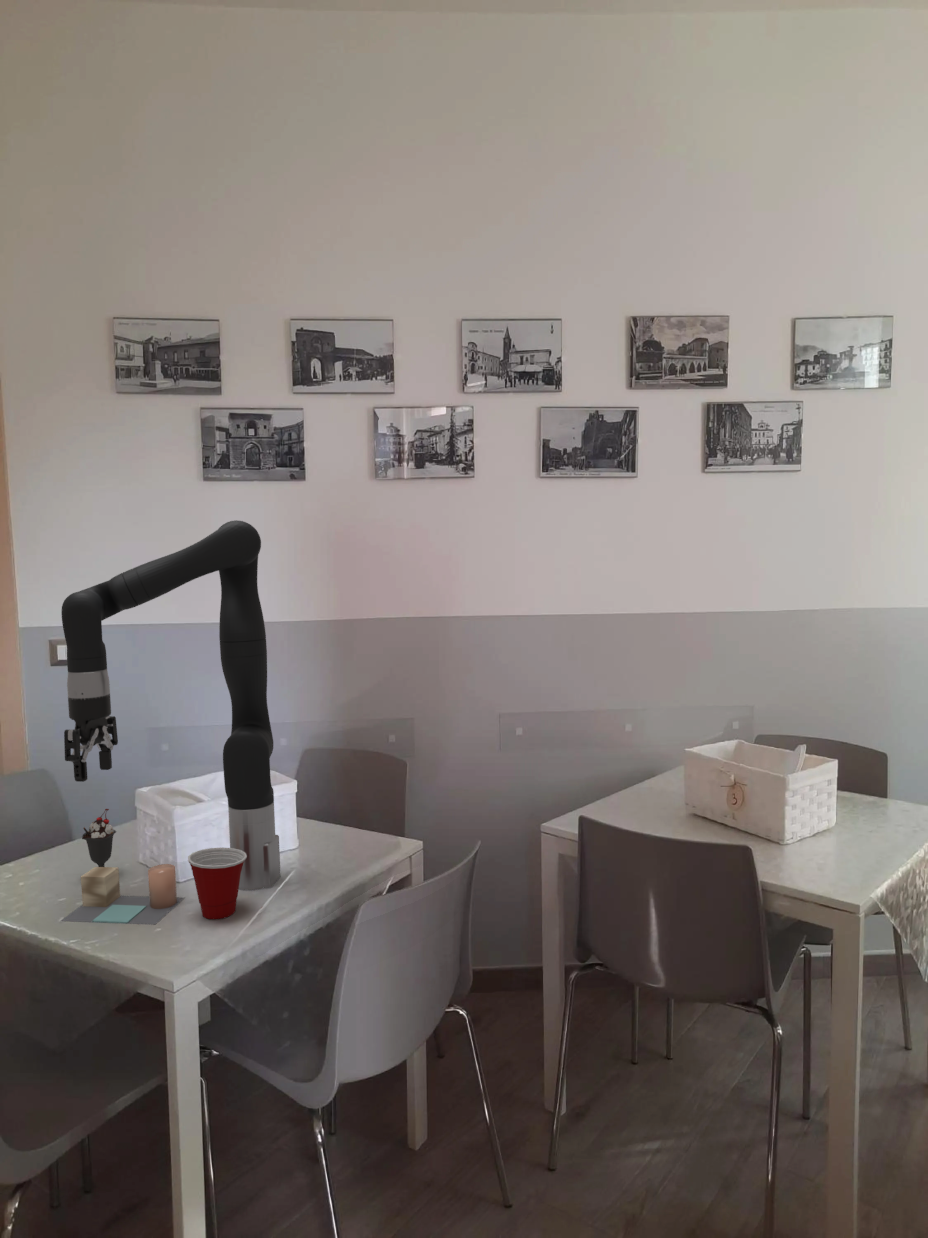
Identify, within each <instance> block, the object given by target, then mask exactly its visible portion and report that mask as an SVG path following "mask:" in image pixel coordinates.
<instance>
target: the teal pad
mask: <svg viewBox="0 0 928 1238" xmlns="http://www.w3.org/2000/svg"><path fill="white" fill-rule="evenodd" d="M145 908H146V906H136V905H112V906H110V907H109V908H108V909H107V910H105V911H104V912H103V913H101V914H100V915H99V916H98V917H96V918H95V919H94V920H92V922H91V923H96V922H102V923H101V924H122V923H129V922H130V921H131V920H132V919H133V918H135V917H136V916H137V915H138V914H139V913H140V912H142V911H143V910H144V909H145Z"/></svg>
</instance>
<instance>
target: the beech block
mask: <svg viewBox="0 0 928 1238" xmlns="http://www.w3.org/2000/svg"><path fill="white" fill-rule="evenodd" d="M119 870H120V869H119V867H117V866H116V867H113V866H112V867H111V866H104V867H98V866H95V867H93V868H91V869H90V870H89V871H87V872H85V873H83V874H82V875H81V876H80V885H81V901H82V902H81V903H82V904H81V905H83V906H90V907H107V906H109V905H110V904H111V903H112V902H114V901H115V900H116V899H118V898H119V897H120V895H121V889H120V887H121V886H120V871H119Z"/></svg>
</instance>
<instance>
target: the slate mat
mask: <svg viewBox="0 0 928 1238" xmlns="http://www.w3.org/2000/svg"><path fill="white" fill-rule="evenodd" d="M184 899H185V897H181V896H180V897H177V903H176V904H175V905H173V906H171V907H168V908H163V909H154V908H151V907H150V897H149V896H148V895H147V896H146V895H145V896H144V895H124V894H123V895H121V894H120V897H119V898H118V899H116V900H115V901H114V902H112V903H111V904H110V905H109V906H107V907H90V906H83V904H81V905H80V906H79V907H77V908H76V909H74V910H73V911H72V912H70V913H68V914H67V915H66V916H65V917H63V918H62V919H61V920H60V922H71V923H72V922H74V923H75V922H76V923H93V922H92V920H94V919H95V918H96V917H98V916H99V915H100V914H101V913H103V912H104V911H105V910H107V909H108V908H109V907H110V906H112V905H136V906H146V908H145V909H144V910H143V911H142V912H140V913H139V914H138V915H137V916H136V917H135V918H133V919H132V920H131V921H130V922H129V923H121V925H122V924H125V925H126V924H127V925H147V926H149V925H151V926H152V925H153V926H155V925H157V924H158V923H159V922H160V921H161V920H162V919H163V918H164V917H166V916H167V915H168V914H169V913H171V911H172V910H174V909H175V908H176V907H177V906H178V904H180V903H181V902H182V901H184ZM95 923H101V924H103V923H102V922H95Z"/></svg>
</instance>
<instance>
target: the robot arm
mask: <svg viewBox="0 0 928 1238" xmlns="http://www.w3.org/2000/svg"><path fill="white" fill-rule="evenodd" d="M261 549H262V539H261V535H260V534H259V532H258V530H257V529H256V528H255V527H254V526H253V525H252V524H250V523H248V522H246V521H243V520H230V521H227V522H225V523H223V524H222V525H221V526H220V527H218V529H216V530H215V531H213V532H212V533H210V534H209V535H207V536H205V537H204V538H203V539H201V540H199V541H197V542H195V543H193V544H190V545H189V546H187V547H185V548H182V549H180V550H178V551H175V552H173V553H170V554H168V555H165V556H162V557H159V558H157V559H152V560H150V561H147V562H145V563H142V564H140V565H138V566H135V567H133V568H130V569H128V570H125V571H123V572H121V573H118V574H116V575H115V576H114V577H111V578H110V579H109V580H106V581H104V582H101V583H98V584H95V585H93V586H90V587H87V588H85V589H82V590H79V591H76V592H72V593H71V594H69V595H67V597H66V598H65V599H64V600H63V603H62V606H61V622H62V628H63V629H62V630H63V635H64V639H65V643H66V664H67V667H66V668H67V677H66V679H67V682H66V687H67V688H66V689H67V705H68V706H67V707H68V718H69V719H70V720H72V721H74V723H75V725H74V729H65V730H64V732H63V733H64V734H63V738H64V740H63V741H64V761H65V762H71V763H72V764H73V765H72V766H73V777H74V782H81V783H82V782H86V781H87V780H88V766H87V758H88V755H89V753H90V752H91V751H92V750H93V747H95V746H97V748H98V750H99V751H98V758H99V769H100V770H101V771H107V770H108V771H109V770H111V769H112V768H113V766H112V765H113V764H112V763H113V762H112V760H113V759H112V751H113V750H114V746H117V745H118V743H119V742H118V741H119V740H118V739H119V737H118V729H117V718H116V716H113V715H111V714H112V707H111V706H112V705H111V703H112V701H111V686H110V685H111V684H110V677H109V672H108V661H107V659H108V658H107V650H106V649H107V648H106V644H105V643H104V640H103V626H102V621H104V620H106V619H109V618H111V617H112V616H115V615H116V614H118V613H120V612H122V611H125V610H129V609H133V608H136V607H138V606H141V605H143V604H146V603H147V602H150V601H153V600H155V599H156V598H159V597H161V596H164V595H165V594H168V593H169V592H171V591H173V590H175V589H177V588H179V587H181V586H183V585H185V584H187V583H190V582H191V581H194V580H196V579H199V578H201V577H204V576H206V575H209V574H212V573H214V572H219V579H220V580H219V581H220V591H221V593H220V594H221V596H220V598H221V599H220V607H219V608H220V610H219V627H218V628H219V632H218V633H219V635H218V636H219V650H220V651H219V652H220V662H221V669H222V673H223V675H224V679H225V683H226V686H227V689H228V692H229V696H230V697H229V698H230V702H231V703H230V704H231V732H230V735H229V737H228V738H227V739H226V742H225V743H224V745H223V749H222V764H223V765H222V766H223V781H224V791H225V795H226V797H227V806H228V807H227V808H228V827H229V828H228V831H229V832H228V833H229V848H234V849H238V850H242V851H243V852H245V853H246V855H247V858H246V859H245V861H244V863H243V866H242V871H241V875H240V882H239V889H238V891H239V890H240V891H258V890H262V889H271V888H272V887H273V886H274V885H275V884H276V883H277V882H278V880H279V879H281V876H282V875H281V874H282V873H281V853H280V835H279V834H276V822H275V820H276V819H275V818H276V816H275V796H274V795H275V792H274V787H273V786H272V780H271V762H270V761H271V760H270V759H271V756H272V755H273V751H274V737H273V732H272V726H271V721H270V715H269V707H268V698H267V696H268V694H267V693H268V692H267V691H268V650H267V649H268V648H267V634H266V625H265V619H264V614H263V609H262V604H261V600H260V596H259V594H260V593H259V586H258V566H259V564H258V562H259V554H260V551H261ZM110 735H111V736H110ZM71 749H72V750H71ZM71 753H72V754H71Z"/></svg>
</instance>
